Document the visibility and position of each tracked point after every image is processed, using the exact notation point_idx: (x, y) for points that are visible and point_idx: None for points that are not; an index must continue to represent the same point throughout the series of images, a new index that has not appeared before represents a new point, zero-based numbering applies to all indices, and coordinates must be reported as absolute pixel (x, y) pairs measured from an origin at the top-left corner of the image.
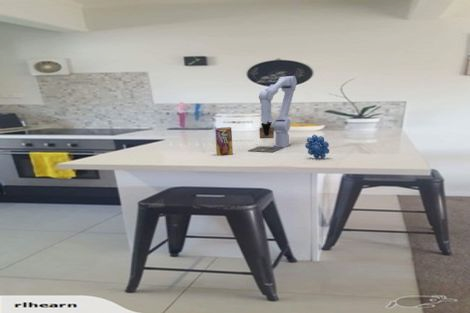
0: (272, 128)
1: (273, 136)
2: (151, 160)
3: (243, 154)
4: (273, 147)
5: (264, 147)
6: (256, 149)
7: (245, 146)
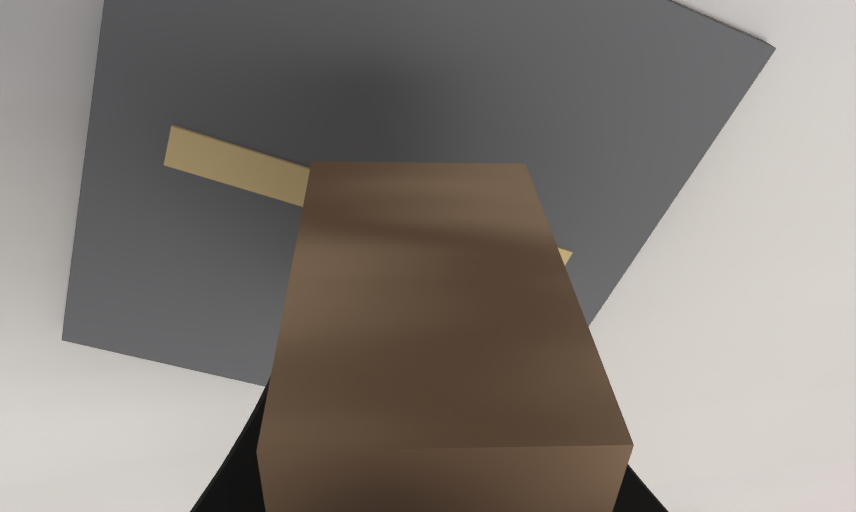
0: (620, 449)
1: (493, 189)
2: None
3: (747, 443)
4: (190, 60)
5: (205, 245)
6: None
7: (44, 507)
